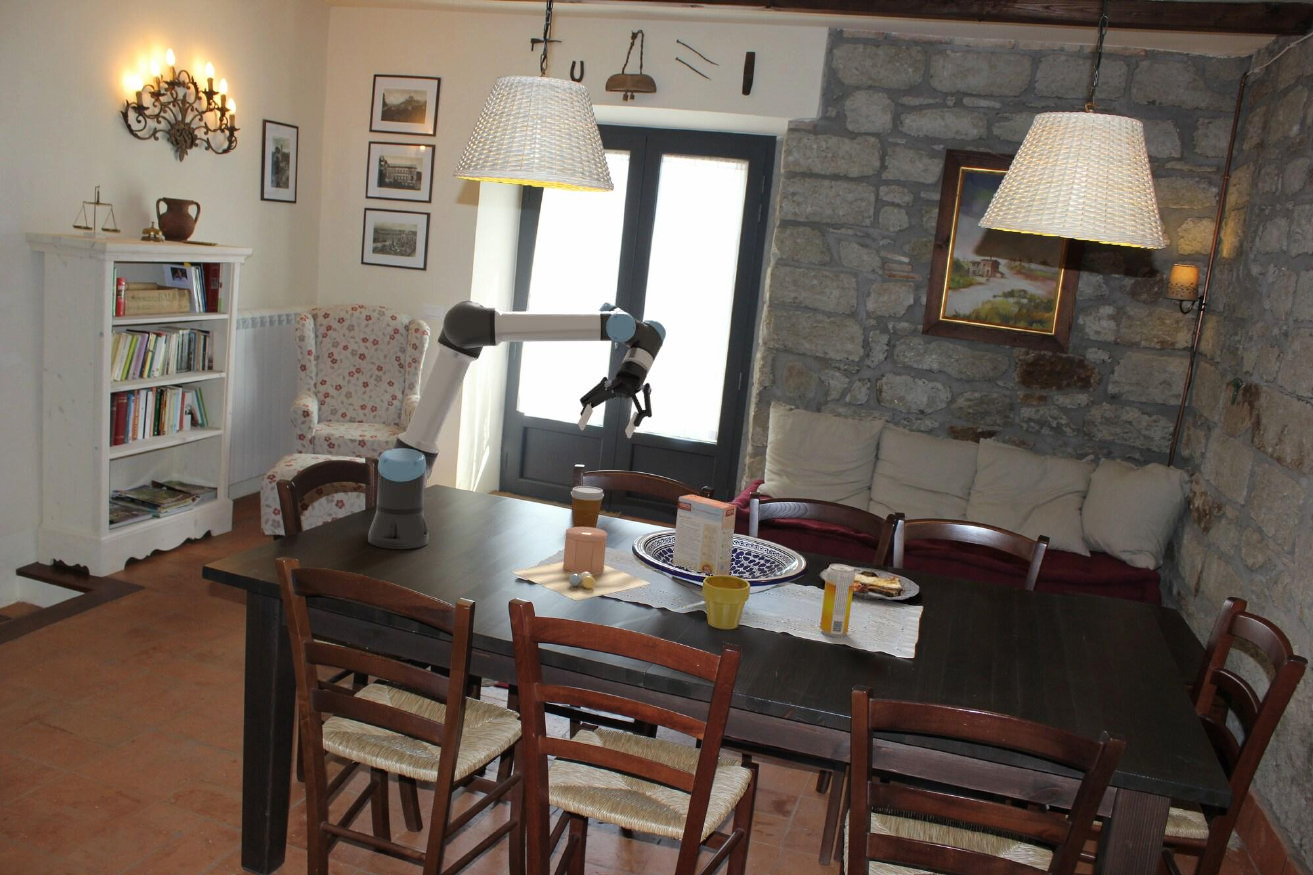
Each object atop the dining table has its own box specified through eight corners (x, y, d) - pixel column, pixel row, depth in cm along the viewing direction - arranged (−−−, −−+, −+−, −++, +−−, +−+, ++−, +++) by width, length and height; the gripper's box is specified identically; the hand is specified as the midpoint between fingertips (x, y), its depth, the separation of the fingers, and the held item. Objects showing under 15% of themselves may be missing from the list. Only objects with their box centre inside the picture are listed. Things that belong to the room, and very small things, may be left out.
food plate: (814, 592, 247) (816, 578, 246) (823, 568, 269) (825, 556, 268) (916, 612, 241) (919, 598, 240) (918, 586, 263) (920, 573, 262)
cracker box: (729, 587, 245) (738, 505, 241) (714, 592, 240) (723, 508, 237) (685, 572, 253) (693, 492, 250) (670, 576, 249) (677, 495, 245)
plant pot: (689, 622, 217) (693, 579, 216) (717, 612, 225) (721, 571, 224) (727, 636, 211) (732, 592, 209) (754, 626, 219) (759, 583, 217)
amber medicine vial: (841, 627, 223) (849, 563, 221) (851, 637, 217) (859, 572, 215) (815, 627, 222) (823, 562, 219) (824, 637, 216) (833, 571, 214)
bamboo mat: (511, 574, 239) (511, 571, 239) (585, 559, 256) (585, 557, 256) (576, 603, 223) (576, 600, 223) (651, 585, 240) (651, 583, 240)
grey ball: (565, 585, 233) (566, 573, 232) (575, 583, 235) (576, 571, 234) (574, 589, 231) (575, 576, 230) (583, 586, 233) (584, 574, 232)
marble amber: (579, 587, 232) (580, 575, 232) (588, 585, 234) (589, 573, 234) (587, 591, 230) (588, 578, 230) (597, 589, 232) (598, 576, 232)
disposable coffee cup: (563, 526, 287) (566, 485, 285) (594, 525, 291) (597, 485, 289) (574, 535, 279) (577, 493, 277) (606, 534, 283) (609, 493, 281)
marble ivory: (576, 583, 235) (577, 571, 235) (585, 581, 237) (586, 569, 237) (584, 586, 233) (585, 574, 233) (594, 584, 235) (595, 572, 235)
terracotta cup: (554, 564, 248) (557, 529, 246) (585, 558, 255) (588, 524, 254) (581, 576, 241) (584, 540, 239) (613, 569, 248) (616, 534, 247)
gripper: (680, 384, 262) (651, 447, 251) (596, 372, 272) (565, 432, 261) (674, 365, 256) (644, 428, 245) (589, 354, 266) (556, 414, 255)
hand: (603, 430), depth 253 cm, fingers open, 13 cm apart
